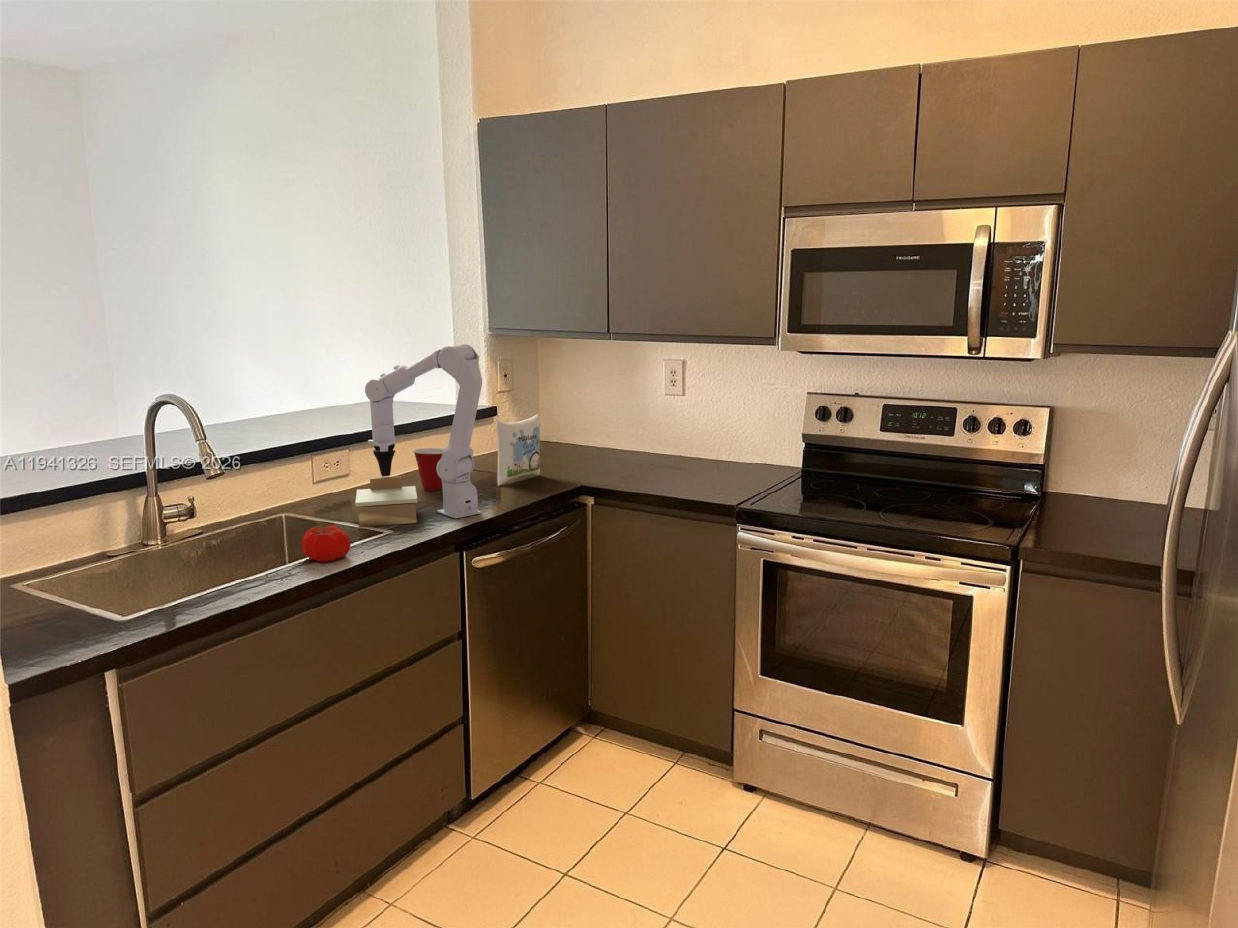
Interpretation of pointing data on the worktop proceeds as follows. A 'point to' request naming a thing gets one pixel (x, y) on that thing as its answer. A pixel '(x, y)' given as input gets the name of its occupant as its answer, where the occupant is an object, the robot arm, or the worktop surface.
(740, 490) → the worktop surface
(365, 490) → the lid
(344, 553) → the tomato
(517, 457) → the pouch
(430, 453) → the plastic cup
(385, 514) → the storage box
